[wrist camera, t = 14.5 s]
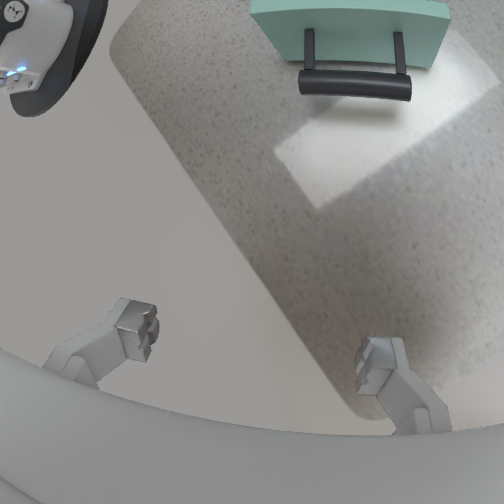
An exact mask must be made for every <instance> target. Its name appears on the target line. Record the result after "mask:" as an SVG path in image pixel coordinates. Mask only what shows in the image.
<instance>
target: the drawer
mask: <svg viewBox="0 0 504 504" xmlns="http://www.w3.org/2000/svg"><path fill="white" fill-rule="evenodd" d="M250 15H251V16H252V17H253V18H254V20H255V21H256V22H257V24H258V25H259V26H260V27H261V29H262V30H263V31H264V33H265V34H266V35H267V37H268V38H269V40H270V41H271V42H272V44H273V45H274V46H275V48H276V49H277V51H278V52H279V53H280V55H281V56H282V58H283V59H284V61H297V60H304V70H300V72H299V76H298V83H299V90H300V93H301V95H325V96H350V97H366V98H379V99H390V100H399V101H408V102H409V101H410V100H411V95H412V83H411V78H410V76H409V75H406V65H409V66H417V67H424V68H431V66H432V64H433V62H434V59H435V57H436V55H437V52H438V50H439V48H440V45H441V43H442V40H443V38H444V35H445V33H446V30H447V28H448V25H449V23H450V20H451V17H450V12H449V8H448V4H446V3H441V2H436V1H430V0H251V5H250ZM315 60H343V61H365V62H379V63H391V64H395V67H396V74H391V73H380V72H367V71H348V70H315Z"/></svg>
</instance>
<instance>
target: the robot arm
mask: <svg viewBox="0 0 504 504" xmlns="http://www.w3.org/2000/svg"><path fill="white" fill-rule="evenodd" d="M73 17H74V12H73V8H72V6H71V5H69V4H66V3H65V2H64V0H0V87H3V94H6V95H10V94H16V93H22V92H29V91H36V90H38V89H39V87H40V85H41V83H42V81H43V79H44V77H45V75H46V73H47V71H48V70H49V69H50V67H51V66H52V65H53V63H54V62H55V60H56V59H57V57H58V56H59V54H60V52H61V50H62V49H63V47H64V45H65V43H66V40H67V38H68V36H69V33H70V30H71V27H72V23H73ZM156 314H157V308H156V306H155V305H152V304H148V303H143V302H139V301H135V300H130V299H126V298H120V299H119V300H118V301H117V302H116V304H115V305H114V307H113V309H112V310H111V312H110V313H109V315H108V316H107V318H106V319H105V321H104V323H103V324H97V325H96V326H94V327H92V328H90V329H88V330H86V331H84V332H82V333H80V334H79V335H77V336H75V337H73V338H71V339H69V340H67V341H65V342H64V343H62V344H60V345H58V346H56V347H55V348H54V350H53V351H52V353H51V354H50V356H49V357H48V359H47V360H46V362H45V364H44V365H43V367H39V366H37V365H35V364H33V363H30V362H28V361H26V360H24V359H22V358H20V357H18V356H16V355H14V354H11V353H9V352H7V351H5V350H4V349H2V348H0V504H504V423H503V424H497V425H492V426H486V427H480V428H473V429H466V430H459V431H452V426H451V421H450V417H449V412H448V408H447V406H446V405H445V403H444V402H443V401H442V400H441V399H440V398H439V397H438V396H437V395H436V394H435V393H434V392H433V390H432V389H431V388H430V387H429V386H428V385H427V384H426V383H425V382H424V381H423V380H422V379H421V378H420V377H419V376H418V375H417V373H416V372H415V371H414V370H411V369H409V364H408V360H407V356H406V352H405V348H404V344H403V340H402V339H401V338H398V337H383V336H370V335H365V337H364V338H363V340H362V347H361V348H359V349H358V351H357V353H356V357H355V362H354V369H355V373H356V374H357V375H358V377H357V379H356V381H355V382H356V393H357V395H369V396H376V398H377V399H378V401H379V402H380V404H381V405H382V407H383V408H384V410H385V411H386V413H387V414H388V416H389V417H390V419H391V420H392V422H393V423H394V425H395V426H396V428H397V429H396V431H395V432H394V433H393V434H392V435H387V436H354V435H353V436H352V435H326V434H312V433H299V432H289V431H279V430H271V429H263V428H255V427H249V426H242V425H236V424H230V423H224V422H219V421H213V420H208V419H203V418H199V417H194V416H189V415H185V414H180V413H176V412H172V411H168V410H164V409H160V408H157V407H153V406H149V405H146V404H142V403H138V402H135V401H132V400H128V399H125V398H122V397H119V396H116V395H112V394H109V393H106V392H104V391H101V390H100V389H99V387H98V385H97V383H96V382H98V381H99V380H100V379H102V378H103V377H104V376H106V375H107V374H108V373H110V372H111V371H112V370H114V369H115V368H116V367H118V366H119V365H120V364H122V363H123V362H124V361H126V360H127V359H132V360H136V361H140V362H145V363H146V362H147V359H148V357H149V355H150V353H151V346H150V345H152V344H153V343H155V342H156V340H157V337H158V333H159V320H158V319H157V318H156V317H155V316H156Z"/></svg>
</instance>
